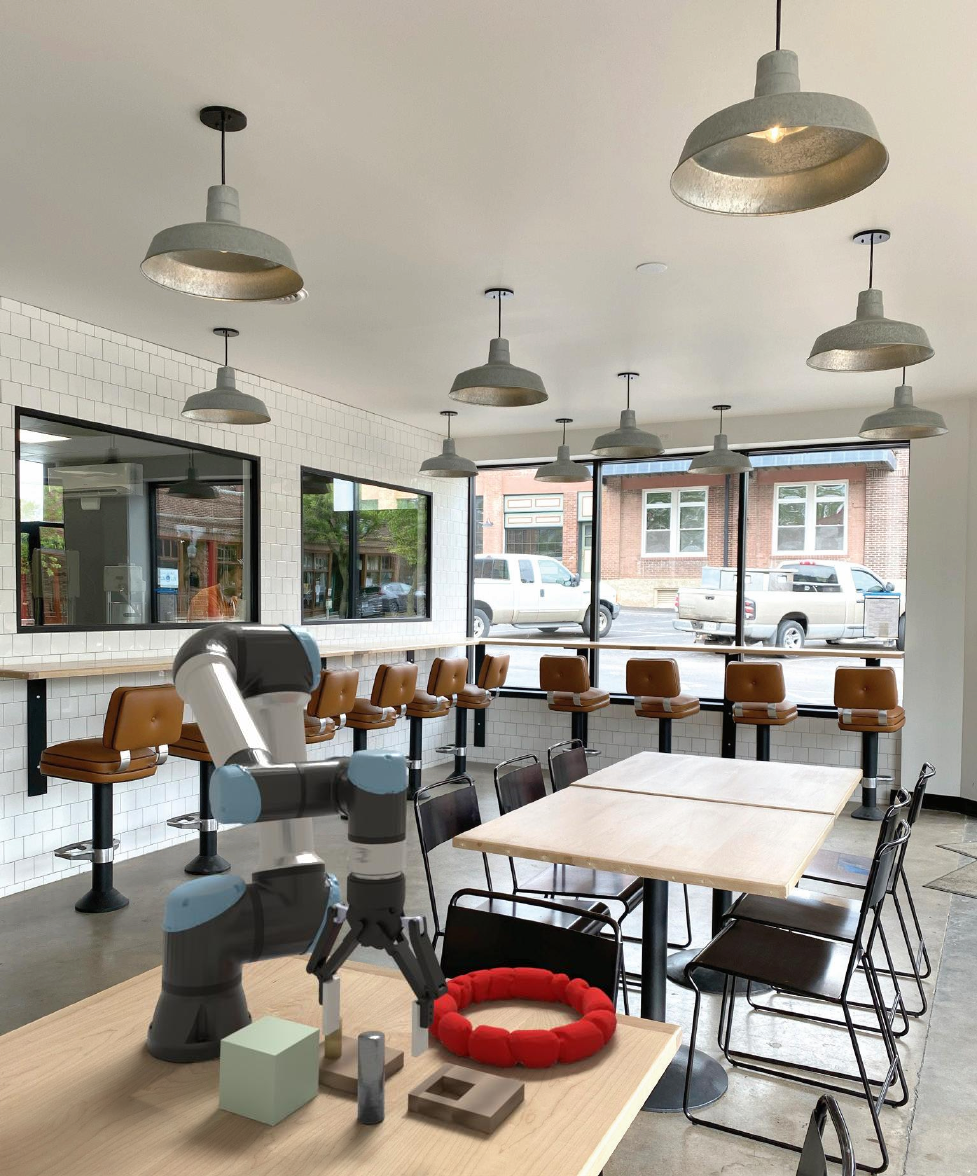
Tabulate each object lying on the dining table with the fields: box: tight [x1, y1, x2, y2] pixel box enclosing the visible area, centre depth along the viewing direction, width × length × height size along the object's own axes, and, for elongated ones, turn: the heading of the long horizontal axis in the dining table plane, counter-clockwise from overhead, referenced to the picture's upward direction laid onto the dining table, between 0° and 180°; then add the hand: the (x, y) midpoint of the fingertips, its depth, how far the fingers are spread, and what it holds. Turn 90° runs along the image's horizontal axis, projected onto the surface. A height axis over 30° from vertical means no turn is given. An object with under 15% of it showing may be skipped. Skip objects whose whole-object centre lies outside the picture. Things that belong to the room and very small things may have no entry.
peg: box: [357, 1030, 386, 1125], centre depth 118 cm, size 3×3×10 cm
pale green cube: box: [218, 1014, 321, 1127], centre depth 122 cm, size 9×9×9 cm
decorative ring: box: [428, 967, 618, 1069], centre depth 146 cm, size 7×30×30 cm
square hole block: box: [407, 1062, 526, 1134], centre depth 122 cm, size 12×10×2 cm
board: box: [318, 1016, 405, 1096], centre depth 130 cm, size 12×10×7 cm
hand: (374, 1042), depth 118 cm, fingers open, 13 cm apart
